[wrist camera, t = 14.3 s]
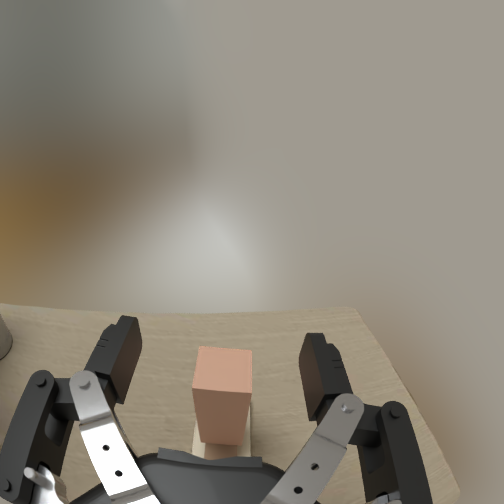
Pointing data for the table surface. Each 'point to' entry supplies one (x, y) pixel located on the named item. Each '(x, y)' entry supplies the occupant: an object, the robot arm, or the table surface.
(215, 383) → the block
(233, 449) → the stand
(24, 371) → the table surface
